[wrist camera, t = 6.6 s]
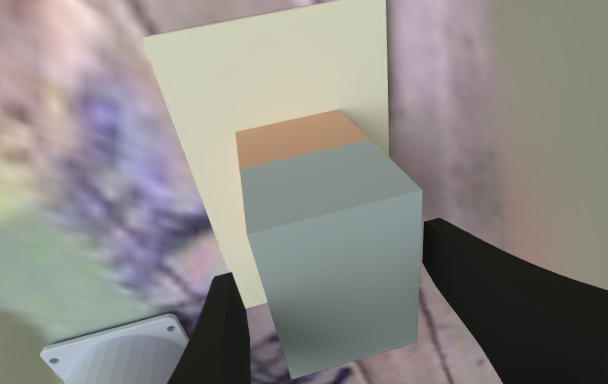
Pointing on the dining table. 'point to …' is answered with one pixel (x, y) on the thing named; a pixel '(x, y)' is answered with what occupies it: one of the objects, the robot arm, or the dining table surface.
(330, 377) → the dining table surface
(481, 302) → the robot arm
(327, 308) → the slate brick
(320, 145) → the terracotta brick
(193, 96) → the baseboard
